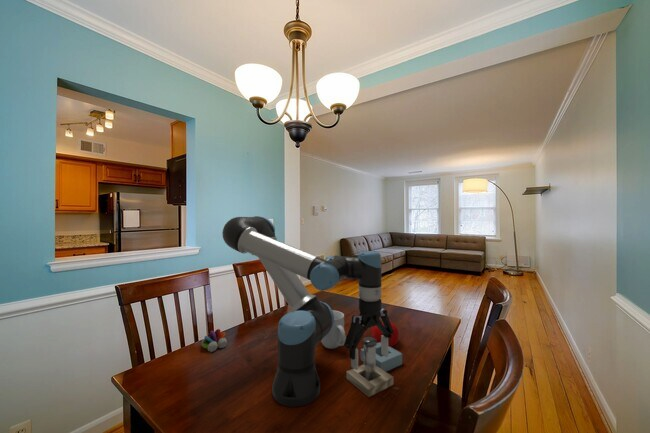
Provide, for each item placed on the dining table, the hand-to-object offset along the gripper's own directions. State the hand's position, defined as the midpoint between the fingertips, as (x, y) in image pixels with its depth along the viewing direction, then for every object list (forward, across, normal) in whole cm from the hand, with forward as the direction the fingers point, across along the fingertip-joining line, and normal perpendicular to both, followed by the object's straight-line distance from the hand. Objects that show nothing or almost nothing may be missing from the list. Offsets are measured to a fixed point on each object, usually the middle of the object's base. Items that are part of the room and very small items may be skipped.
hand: (370, 361), depth 89 cm
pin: (+7, 0, 0) cm, 7 cm away
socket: (+7, +12, +7) cm, 15 cm away
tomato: (+7, +23, +16) cm, 29 cm away
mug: (+7, +3, +27) cm, 28 cm away
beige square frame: (+7, 0, 0) cm, 7 cm away
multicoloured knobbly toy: (+7, -39, +53) cm, 66 cm away
